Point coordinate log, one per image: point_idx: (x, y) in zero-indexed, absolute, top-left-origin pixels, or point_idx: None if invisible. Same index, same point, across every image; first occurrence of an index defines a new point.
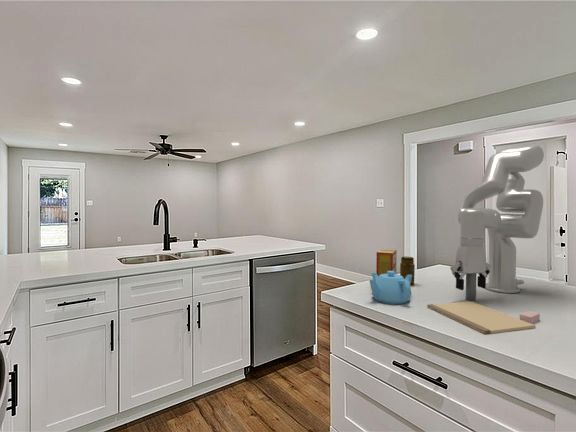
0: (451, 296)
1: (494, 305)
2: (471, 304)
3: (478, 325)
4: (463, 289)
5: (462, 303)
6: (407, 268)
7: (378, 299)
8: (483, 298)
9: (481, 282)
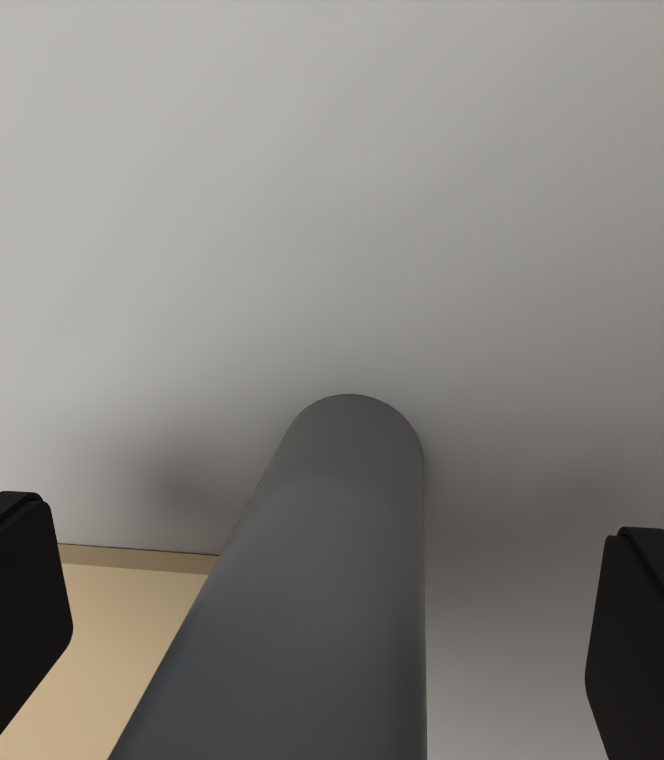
0: (200, 200)
1: (475, 703)
2: (144, 671)
3: None
4: (58, 648)
5: None
6: None
7: None
8: (642, 446)
9: (637, 739)
